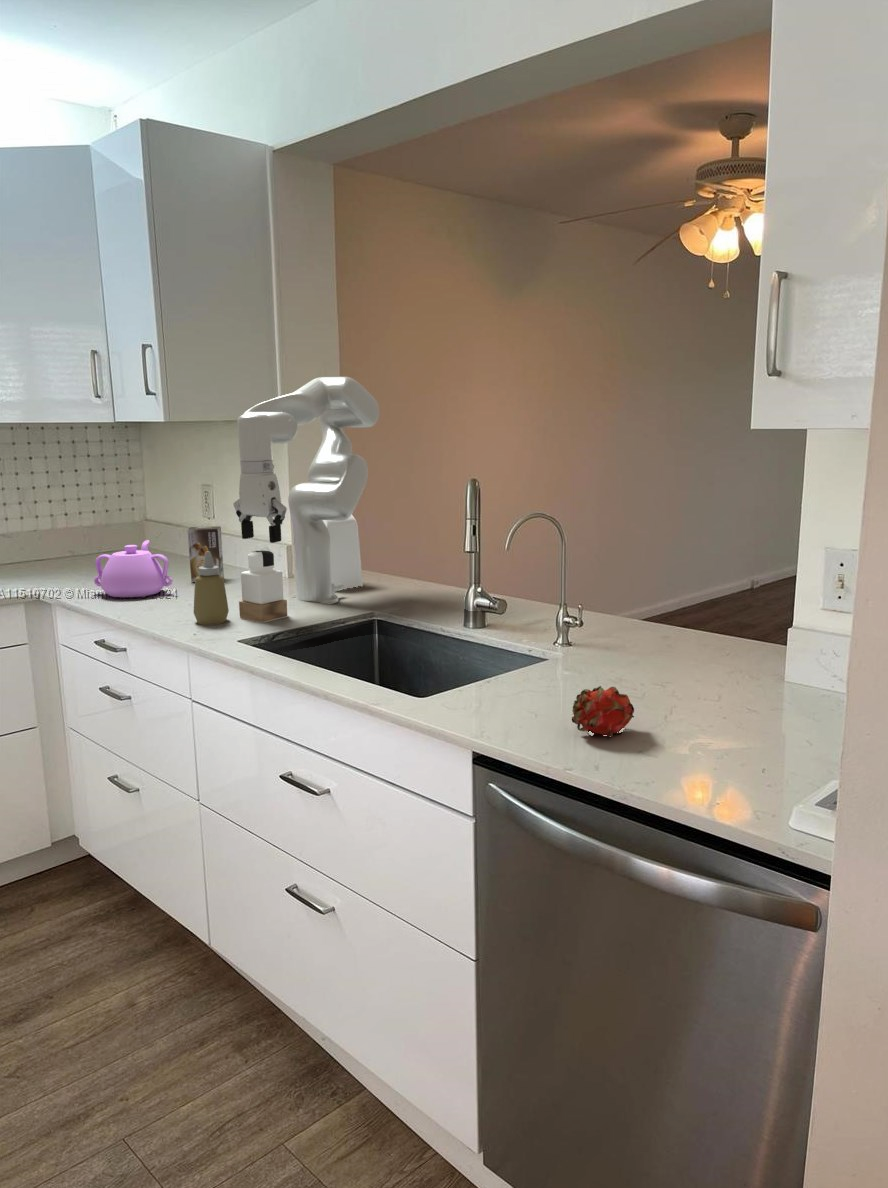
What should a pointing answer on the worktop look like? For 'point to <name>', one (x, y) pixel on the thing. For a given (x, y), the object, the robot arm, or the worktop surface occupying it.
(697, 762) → the worktop surface
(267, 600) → the medicine bottle
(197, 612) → the squeeze bottle
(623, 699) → the dragon fruit
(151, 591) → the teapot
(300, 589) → the robot arm
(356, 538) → the milk
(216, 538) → the coffee box
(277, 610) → the base block
